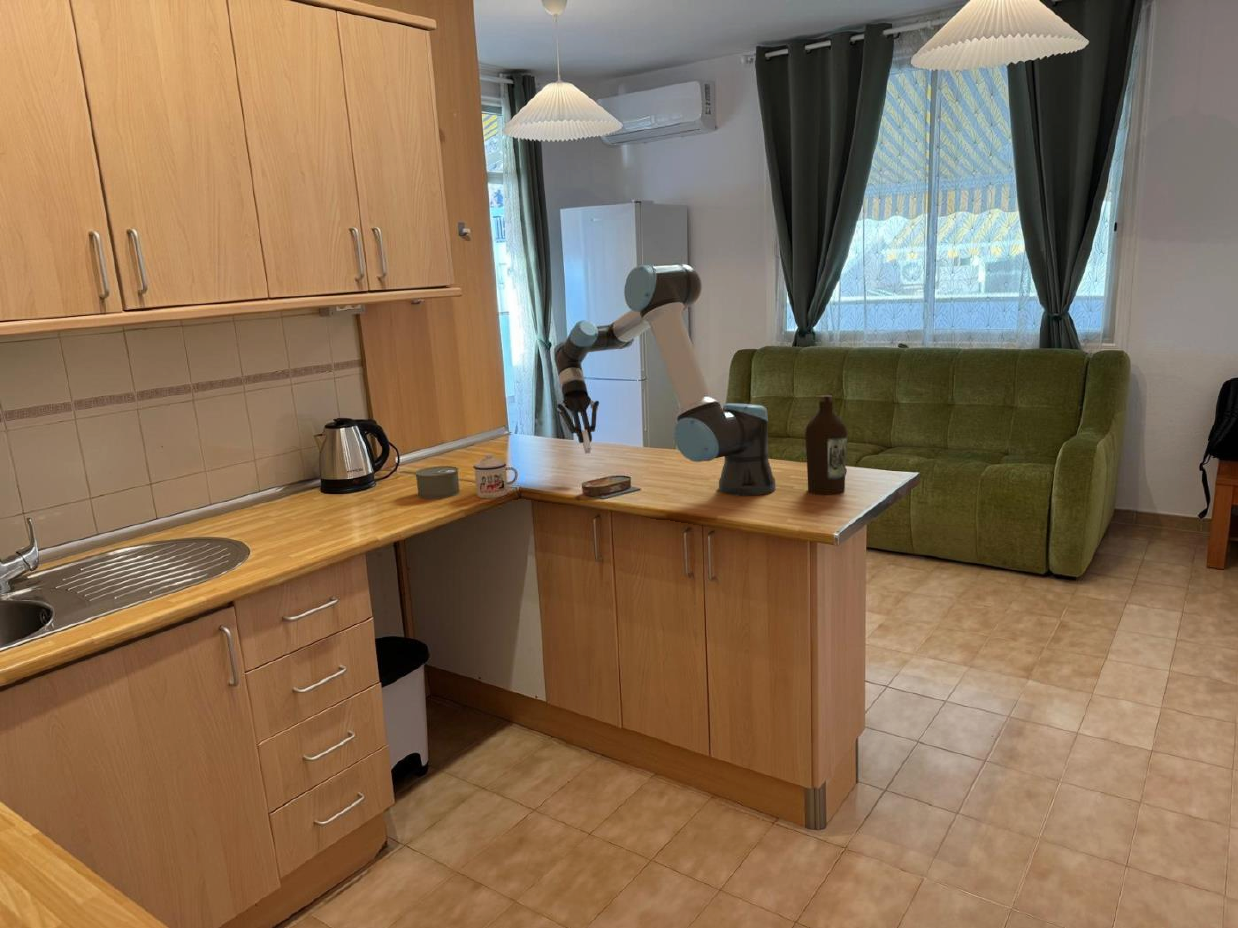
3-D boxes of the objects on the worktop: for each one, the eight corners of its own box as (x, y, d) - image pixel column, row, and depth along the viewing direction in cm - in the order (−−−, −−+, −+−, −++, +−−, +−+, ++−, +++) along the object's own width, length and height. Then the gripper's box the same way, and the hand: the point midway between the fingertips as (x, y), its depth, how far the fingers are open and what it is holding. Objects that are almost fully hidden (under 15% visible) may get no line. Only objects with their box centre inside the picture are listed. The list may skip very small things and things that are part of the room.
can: (431, 488, 256) (428, 465, 254) (467, 489, 252) (465, 466, 251) (409, 499, 245) (407, 475, 243) (447, 500, 241) (445, 476, 240)
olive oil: (797, 490, 230) (796, 396, 225) (825, 483, 236) (825, 391, 230) (827, 497, 222) (826, 400, 216) (855, 490, 227) (856, 395, 222)
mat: (640, 489, 240) (640, 488, 240) (603, 499, 232) (603, 497, 232) (620, 484, 247) (620, 483, 247) (583, 493, 239) (583, 492, 239)
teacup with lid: (477, 500, 239) (473, 458, 236) (474, 492, 247) (471, 452, 245) (521, 495, 241) (517, 454, 239) (517, 488, 250) (513, 448, 247)
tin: (619, 474, 247) (637, 476, 241) (620, 484, 248) (638, 487, 241) (575, 483, 239) (592, 486, 232) (576, 494, 239) (593, 497, 232)
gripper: (593, 392, 268) (608, 455, 256) (551, 395, 265) (564, 460, 253) (595, 377, 262) (611, 441, 250) (553, 380, 259) (567, 445, 247)
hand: (588, 450), depth 251 cm, fingers closed
